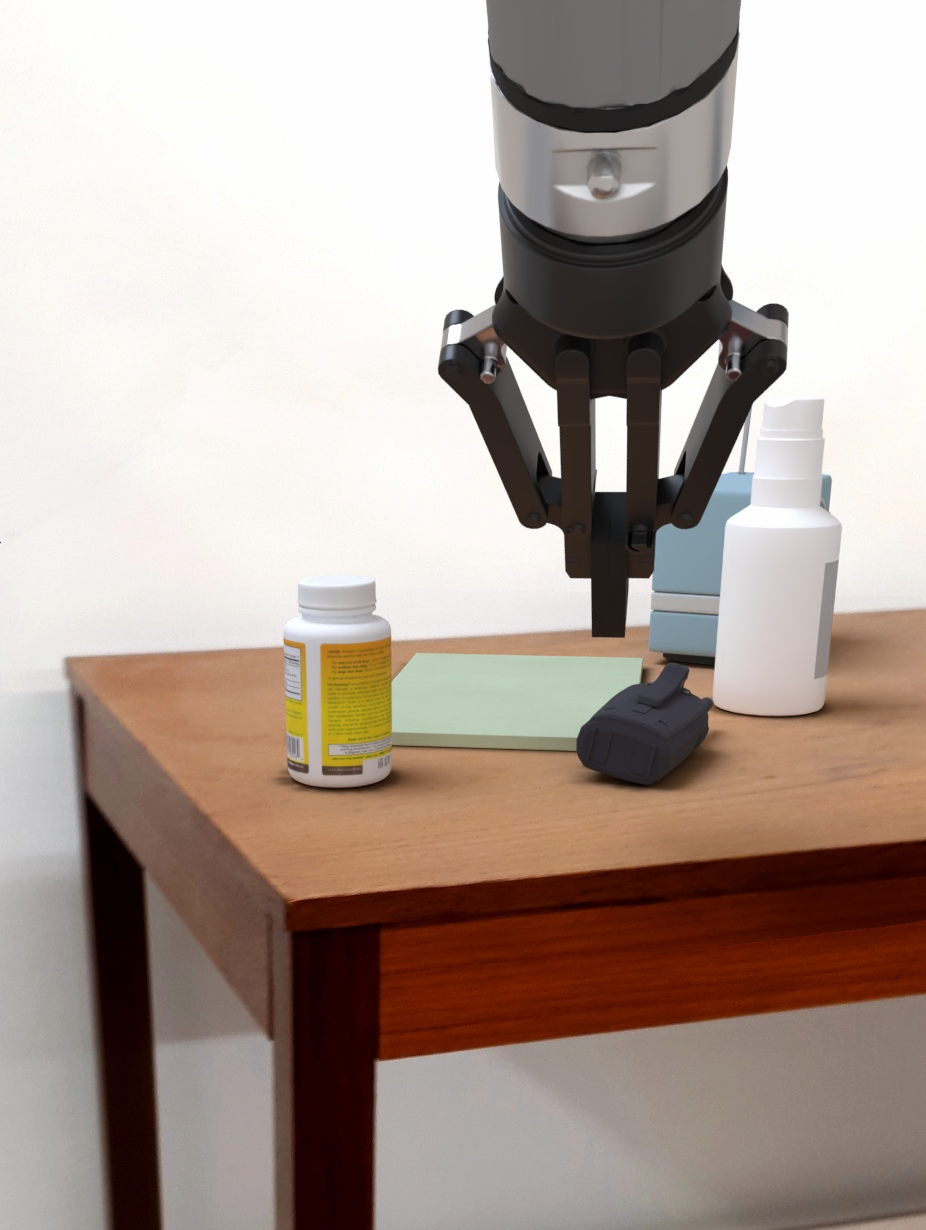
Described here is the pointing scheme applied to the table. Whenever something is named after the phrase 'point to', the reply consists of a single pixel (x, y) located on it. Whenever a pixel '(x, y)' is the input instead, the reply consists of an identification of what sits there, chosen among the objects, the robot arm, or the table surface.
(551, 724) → the mat
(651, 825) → the table surface
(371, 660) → the supplement bottle
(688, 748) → the two-way radio
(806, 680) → the spray bottle
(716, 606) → the radio
